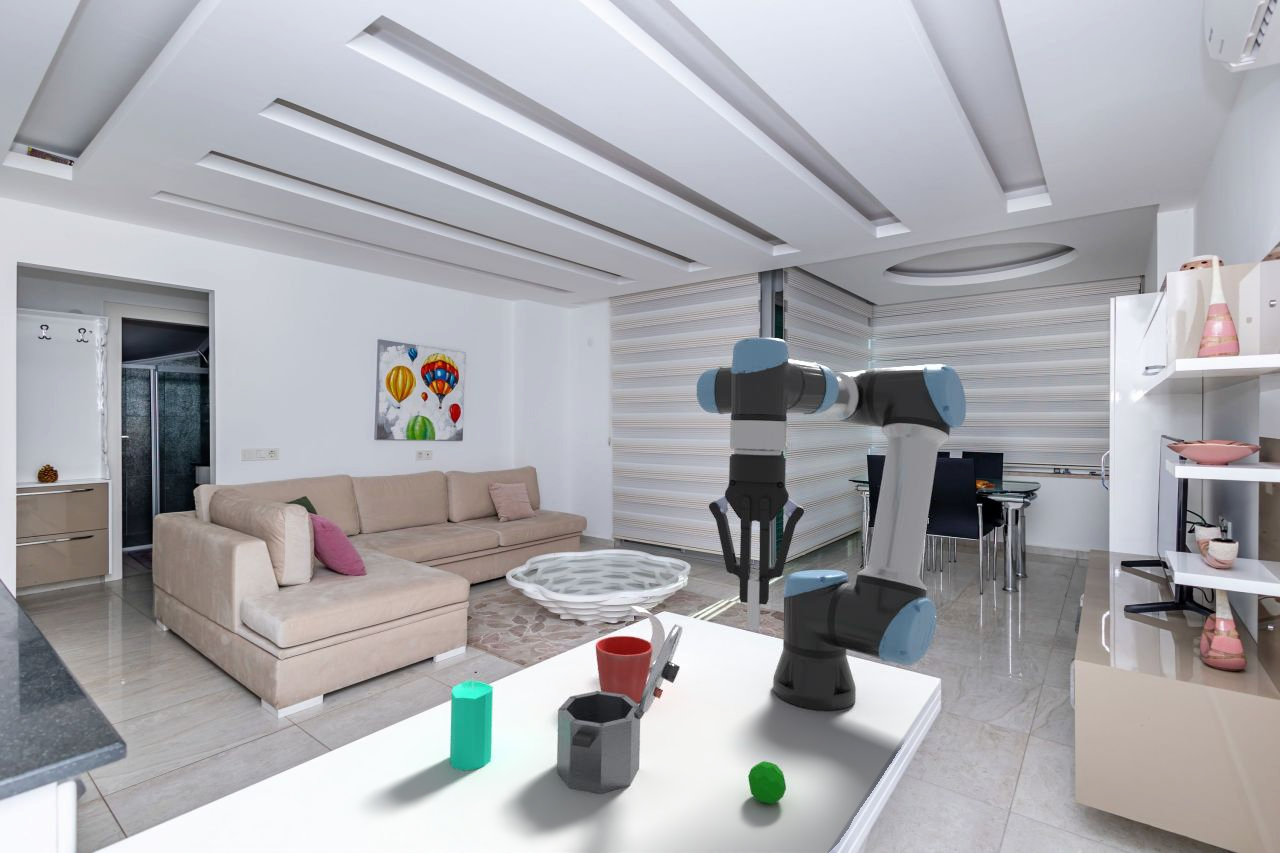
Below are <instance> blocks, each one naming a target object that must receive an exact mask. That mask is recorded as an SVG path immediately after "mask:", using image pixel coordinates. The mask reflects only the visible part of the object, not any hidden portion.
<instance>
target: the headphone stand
mask: <svg viewBox="0 0 1280 853" xmlns="http://www.w3.org/2000/svg"><path fill="white" fill-rule="evenodd" d="M630 611H632V612H633V613H634V614H635V615H637V616H638V617H647V619H649V622H650V623H651V624H650V625H651V631H652V632H651V633H652V634H651V639H650V641H649V642H650V643H651V644H652V646H653V650H652V657H651V662H650V667H649V670H652V669H653V666H654V664H655V662H656V660H657V657H658V655H659V653H660V651H661V649H662V647H663V645H664V643H665V641H666V633H665V629H664V625H663V624H662V622H661V620H660V619H659V618H658V617H657V616H655V615H654V614H653V613H651V612H650V611H648V610H647V609H645V608H643V607H640V606H635V605H631V606H630Z"/></svg>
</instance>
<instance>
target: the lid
mask: <svg viewBox="0 0 1280 853" xmlns="http://www.w3.org/2000/svg"><path fill="white" fill-rule="evenodd" d="M682 633H683V626H681V625H679V624H676V623H675V624H674V625H673V627H671V629H670V632H669V633H668V635H667V637H666V638H665V643H664V645H663V647H662V649H661V651H660V653H659V655H658V657H657V660H656V662H655V664H654V666H653V668H651V671H650V673H649V675H648V678H647V683H646V686H645V689H644V692H643V695H642V698H641V701H640V702H639V703H638V705H639V706H638V708H637V709H636V711H635V712H634V717H635V718H636V719H640V720H641V719H642V718H643V716H644V715H645V713H648V711H649V710H650V708H651V707H652V704H653V703H654V700H655V698H656V699H661V697H662V694H663V692H664V690H663V689H662V688H661V686H662V684H663V682H664V680H666V681H667V682H669V683H671V684H674V682H675V680H676V678H677V676H678V674H679V671H680V665H678V664H675V663H673V662H672V661H673V658H674V657H675V654H676V651H677V649H678V646H679V642H680V639H681V636H682Z"/></svg>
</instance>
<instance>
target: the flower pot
mask: <svg viewBox="0 0 1280 853" xmlns="http://www.w3.org/2000/svg"><path fill="white" fill-rule="evenodd" d="M652 650H653V646H652V644H651V643H650V641H648V640H646V639H644V638H641V637H638V636H637V637H636V636H629V635H617V636H616V635H615V636H608V637H603V638H602V639H600V640H598V641H597V642H596V643H595V653H596V654H595V656H596V661H597V663H596V664H597V672H598V680H599V687H600V691H602V692H609V693H616V694H623V695H627V696H628V697H629V698H630V699H632V700H633V701H634V702H635V703H636V704H640V701H641V698H642V695H643V692H644V689H645V686H646V684H647V681H648V679H649V674H650V672H649V671H650V669H649V667H650V662H651V657H652Z"/></svg>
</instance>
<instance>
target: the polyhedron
mask: <svg viewBox="0 0 1280 853" xmlns="http://www.w3.org/2000/svg"><path fill="white" fill-rule="evenodd" d="M747 777H748V779H747V780H748V783H749V789H750V794H751V795H752V796H753V797H754V798H755V800H756V801H758V802H760V803H763V804H766V805H774V804H775V803H777V802H779V801H780V800H782V799H783V798H784V795H785V792H786V790H787V786H786V780H785V776H784V772H783V770H782V769H781V768H780V767H779V766H778V765H777V764H776V763H773V762H769V761H761V762H760V761H759V763H757V764H755V765H754V766H753V767H752V768H750V770H749V773H748V776H747Z"/></svg>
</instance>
